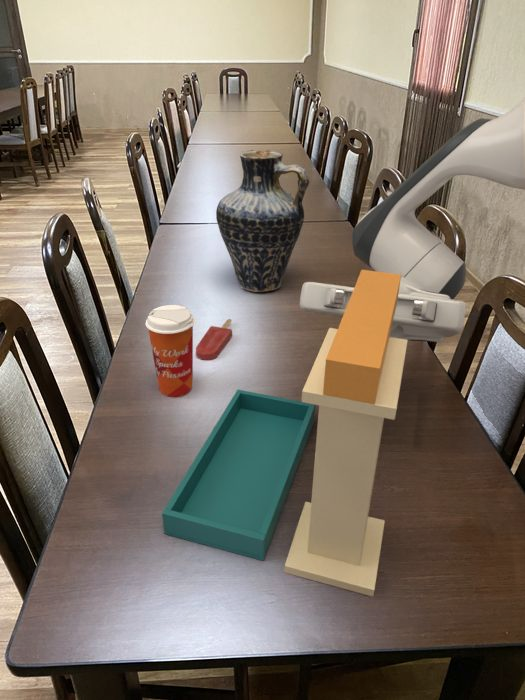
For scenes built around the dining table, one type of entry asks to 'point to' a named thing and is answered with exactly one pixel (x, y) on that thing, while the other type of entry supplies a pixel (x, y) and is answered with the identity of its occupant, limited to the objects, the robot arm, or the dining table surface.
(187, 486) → the tray
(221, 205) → the jug
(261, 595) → the dining table surface
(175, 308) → the paper cup
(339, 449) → the stand
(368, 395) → the orange rectangular bar
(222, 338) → the popsicle
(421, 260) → the robot arm
